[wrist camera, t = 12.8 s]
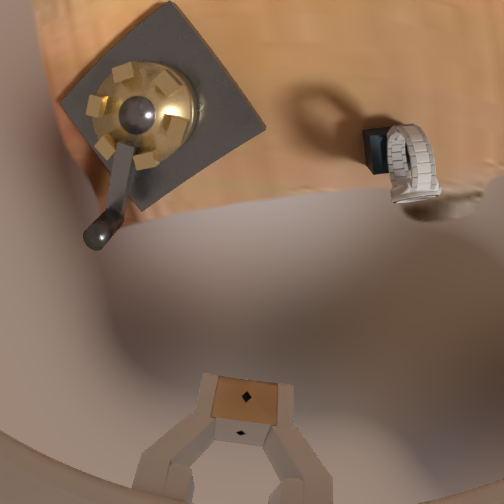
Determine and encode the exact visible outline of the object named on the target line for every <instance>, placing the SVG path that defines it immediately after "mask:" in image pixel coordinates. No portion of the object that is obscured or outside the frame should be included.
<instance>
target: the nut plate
mask: <svg viewBox="0 0 504 504" xmlns="http://www.w3.org/2000/svg"><path fill="white" fill-rule="evenodd" d="M131 61H136V62H159V63H164V64H167V65H170V66H172V67H174V68H176V69H177V70H179V71H180V72H181V73H182V74H183V75H185V76H186V78H187V79H188V80H189V82H190V83H191V85H192V87H193V89H194V91H195V94H196V98H197V104H198V114H197V120H196V124H195V127H194V129H193V132H192V133H191V135H190V137H189V138H188V139H187V141H186V142H185V143H184V144H183V145H182V146H181V147H180V148H179V149H177V150H176V151H175V152H174V153H173V154H171V155H170V156H169V157H168V158H166V159H164V160H163V161H161V162H160V163H159V164H158V165H157V166H156V167H152V168H147V169H142V170H136V167H135V165H134V169H133V174H132V179H131V184H130V188H129V193H128V196H129V197H130V198H131V199H132V201H133V202H134V203H135V204H136V206H137V207H138V208H139V209H140V211H141V212H142V211H144V210H145V209H146V208H148V207H149V206H151V205H152V204H153V203H155V202H156V201H157V200H159V199H160V198H162V197H163V196H164V195H166V194H167V193H169V192H170V191H172V190H173V189H174V188H176V187H177V186H179V185H180V184H182V183H183V182H185V181H186V180H188V179H189V178H190V177H192V176H193V175H195V174H196V173H198V172H199V171H201V170H202V169H204V168H205V167H207V166H209V165H210V164H212V163H213V162H215V161H216V160H218V159H219V158H221V157H222V156H224V155H226V154H227V153H229V152H230V151H232V150H234V149H235V148H237V147H238V146H240V145H242V144H243V143H245V142H246V141H248V140H250V139H251V138H253V137H255V136H256V135H258V134H260V133H261V132H263V131H265V130H266V125H265V124H264V122H263V121H262V119H261V118H260V116H259V115H258V113H257V112H256V111H255V109H254V108H253V106H252V105H251V103H250V102H249V100H248V99H247V97H246V96H245V95H244V93H243V92H242V90H241V89H240V88H239V86H238V85H237V83H236V82H235V81H234V79H233V78H232V76H231V75H230V74H229V72H228V71H227V69H226V68H225V67H224V65H223V64H222V63H221V61H220V60H219V59H218V57H217V56H216V55H215V53H214V52H213V51H212V49H211V48H210V47H209V45H208V44H207V43H206V41H205V40H204V39H203V38H202V36H201V35H200V34H199V32H198V31H197V30H196V29H195V27H194V26H193V25H192V24H191V22H190V21H189V20H188V19H187V17H186V16H185V15H184V14H183V12H182V11H181V10H180V9H179V7H178V6H177V5H176V4H175V3H173V2H171V1H168V2H167V3H165V4H164V5H163V6H162V7H160V8H159V9H158V10H156V11H155V12H154V13H152V14H151V15H150V16H149V17H147V18H146V19H145V20H144V21H142V22H141V23H140V24H139V25H138V26H136V27H135V28H134V29H133V30H132V31H131V32H129V33H128V34H127V35H126V36H125V37H124V38H123V39H122V40H120V41H119V42H118V43H117V44H116V45H115V46H114V47H113V48H112V49H111V50H110V51H109V52H108V53H106V54H105V55H104V56H103V57H102V58H101V59H100V60H99V61H98V62H97V63H96V64H95V65H94V66H93V67H92V68H91V69H90V70H89V71H88V73H87V74H86V75H85V76H84V77H83V78H82V79H81V80H80V81H79V82H78V83H77V84H76V85H75V87H74V88H73V89H72V90H71V91H70V92H69V93H68V94H67V96H66V97H65V98H64V99H63V100H62V101H61V103H60V105H61V106H62V107H63V109H64V110H65V112H66V113H67V115H68V116H69V117H70V119H71V120H72V122H73V123H74V124H75V126H76V127H77V128H78V130H79V131H80V133H81V134H82V135H83V137H84V138H85V139H86V141H87V142H88V143H89V145H90V146H91V147H92V149H93V150H94V151H95V153H96V154H97V155H98V157H99V158H100V159H101V161H102V162H103V163H104V165H105V166H106V167H107V169H108V170H109V171H110V173H112V167H113V162H114V157H112V158H110V159H109V160H106V159H105V158H104V157H103V156H102V155H101V153H100V152H99V151H98V150H97V149H96V148H95V147H94V146H95V144H96V143H97V142H98V141H99V140H98V138H97V136H96V133H95V130H94V126H93V119H92V116H89V115H86V110H87V105H88V100H89V96H90V94H94V93H97V91H98V89H99V88H100V86H101V84H102V83H103V82H104V80H105V79H106V78H107V77H108V76H109V75H110V74H111V73H112V68H114V67H117V66H120V65H122V64H125V63H128V62H131Z"/></svg>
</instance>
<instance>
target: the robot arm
mask: <svg viewBox="0 0 504 504" xmlns="http://www.w3.org/2000/svg"><path fill="white" fill-rule="evenodd" d="M293 390H294V389H293V385H291V384H280V383H274V382H263V381H254V380H245V379H238V378H231V377H225V376H220V375H214V374H209V373H204V374H203V377H202V381H201V385H200V389H199V393H198V397H197V401H196V406H195V410H194V414H191V413H189V414H188V415H187V416H186V417H184V418H183V419H182V420H181V421H180V422H179V423H178V424H176V425H175V426H174V427H173V428H172V429H170V430H169V431H168V432H167V433H166V434H165V435H164V436H162V437H161V438H160V439H158V440H157V441H156V442H155V443H154V444H153V445H151V446H150V447H149V448H148V449H146V450H145V451H144V452H143V453H142V454H141V458H140V461H139V464H138V468H137V471H136V474H135V478H134V481H133V485H132V488H128V487H125V486H122V485H119V484H116V483H112V482H110V481H106V480H104V479H101V478H98V477H96V476H93V475H91V474H88V473H85V472H83V471H81V470H78V469H76V468H73V467H71V466H69V465H66V464H64V463H62V462H60V461H57V460H55V459H53V458H51V457H49V456H46V455H45V454H43V453H41V452H39V451H37V450H35V449H33V448H31V447H29V446H27V445H25V444H24V443H22V442H20V441H18V440H16V439H15V438H13V437H11V436H9V435H8V434H6V433H4V432H3V431H1V430H0V504H192V498H193V492H194V482H193V476H192V470H191V468H190V466H191V465H192V464H193V463H194V462H195V461H196V460H197V459H198V458H199V457H200V455H202V453H203V452H204V451H205V450H206V449H207V448H208V447H209V446H210V445H211V444H212V443H213V442H214V440H219V441H226V442H235V443H242V444H249V445H256V446H263V449H264V451H265V453H266V455H267V457H268V459H269V461H270V462H271V464H272V466H273V468H274V470H275V472H276V474H277V475H278V477H279V479H280V481H281V483H280V484H279V486H278V487H277V488H276V489H275V490H274V491H273V493H272V494H271V495H270V496H269V501H268V504H333V478H332V476H331V475H330V474H329V472H328V471H327V469H326V468H325V467H324V465H323V464H322V462H321V461H320V460H319V458H318V457H317V455H316V454H315V453H314V451H313V450H312V448H311V447H310V445H309V444H308V442H307V441H306V439H305V438H304V437H303V435H302V434H301V432H300V431H299V429H298V428H296V427H293V400H294V391H293ZM417 504H504V478H502V479H500V480H497V481H495V482H492V483H489V484H486V485H483V486H481V487H477V488H474V489H471V490H468V491H464V492H461V493H458V494H454V495H451V496H447V497H443V498H439V499H435V500H430V501H426V502H421V503H417Z"/></svg>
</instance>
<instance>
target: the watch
mask: <svg viewBox="0 0 504 504" xmlns="http://www.w3.org/2000/svg"><path fill="white" fill-rule="evenodd" d="M362 131H363V138H364V146H365V154H366V163H367V167H368V168H369V169H370V171H371V172H372V173H373V175H375V174H383V173H390V174H389V175H390V180H391V183H392V187H393V188H392V189H391V191H390V192H391V198H392V200H391V202H393V203H404V202H412V201H419V200H424V199H429V198H433V197H436V196H439V195H440V192H441V186H440V185H439V183H438V179H436V167H435V160H434V155H433V151H432V148H431V145H430V143H429V141H428V138H427V136H426V135H425V133H424V131H423V130H422V129H421V128H420V127H419V126H417V124H404V125H395V126H393V127H387V128H377V129H368V130H362ZM424 151H425V152H424ZM421 162H424V163H421ZM408 170H411V176H412V177H410V174H409V171H408ZM410 178H411V179H410Z"/></svg>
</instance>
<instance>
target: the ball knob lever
mask: <svg viewBox="0 0 504 504" xmlns="http://www.w3.org/2000/svg"><path fill="white" fill-rule="evenodd" d="M197 114H198V104H197V98H196V94H195V91H194V89H193V87H192V85H191V83H190V82H189V80H188V79H187V78H186V76H185V75H183V74H182V73H181V72H180V71H179V70H177V69H176V68H174V67H172V66H170V65H167V64H164V63H159V62H136V61H131V62H128V63H125V64H122V65H120V66H117V67H114V68H112V73H111V74H110V75H109V76H108V77H107V78H106V79H105V80H104V82H103V83H102V84H101V86H100V88H99V89H98V91H97V93H94V94H90V96H89V100H88V105H87V110H86V115H89V116H92V119H93V126H94V130H95V133H96V136H97V138H98V140H99V141H98V142H97V143H96V144H95V146H94V147H95V148H96V149H97V150H98V151H99V152H100V153H101V155H102V156H103V157H104V158H105V159H106V160H109V159H110V158H112V157H114V162H113V167H112V173H111V178H110V184H109V190H108V197H107V204H106V210H105V211H104V212H103V213H102V214H101V215H100V216H99V217H98V218H97V219H96V220H95V221H94V222H93V223H92V224H91V225H90V226H89V227H88V228H87V229H86V230H85V231H84V233H83V239H84V242H85V243H86V245H87V246H88V247H89V248H91V249H92V250H101V249H102V248H103V247H104V245H105V244H106V243H107V242H108V241H109V240H110V238H111V237H112V236H113V235H114V234H115V233H116V231H117V230H119V229H120V227H121V226H122V225H123V222H124V215H125V209H126V204H127V199H128V193H129V188H130V184H131V179H132V174H133V169H134V165H135V167H136V170H142V169H147V168H152V167H156V166H157V165H158V164H159V163H160V162H161V161H163V160H164V159H166V158H168V157H169V156H170V155H171V154H173V153H174V152H175V151H176V150H177V149H179V148H180V147H181V146H182V145H183V144H184V143H185V142H186V141H187V139H188V138H189V137H190V135H191V133H192V132H193V129H194V127H195V124H196V120H197Z"/></svg>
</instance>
